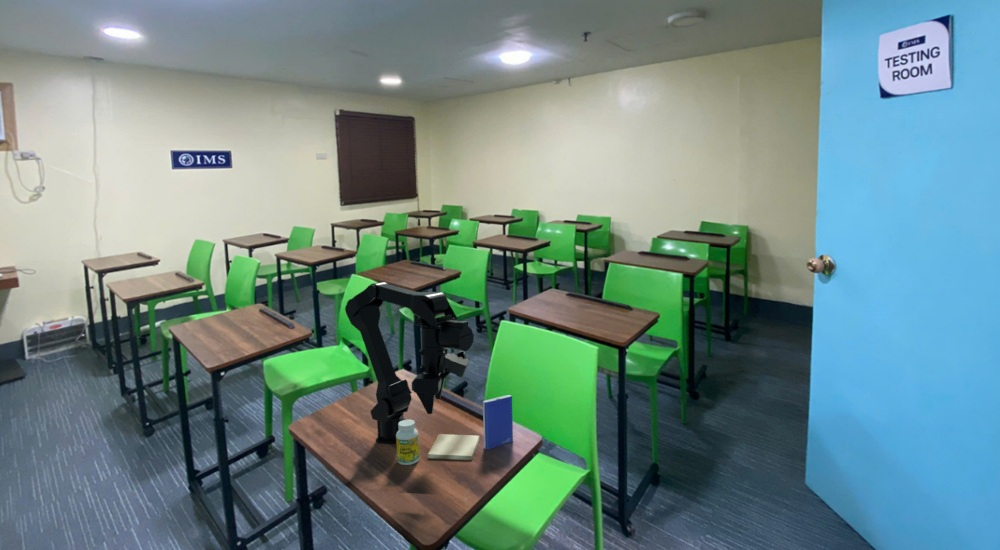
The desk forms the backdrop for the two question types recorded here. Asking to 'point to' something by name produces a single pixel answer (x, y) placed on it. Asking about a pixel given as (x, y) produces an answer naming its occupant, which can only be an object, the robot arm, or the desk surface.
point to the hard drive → (497, 421)
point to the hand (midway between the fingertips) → (434, 406)
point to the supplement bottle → (407, 443)
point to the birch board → (454, 447)
